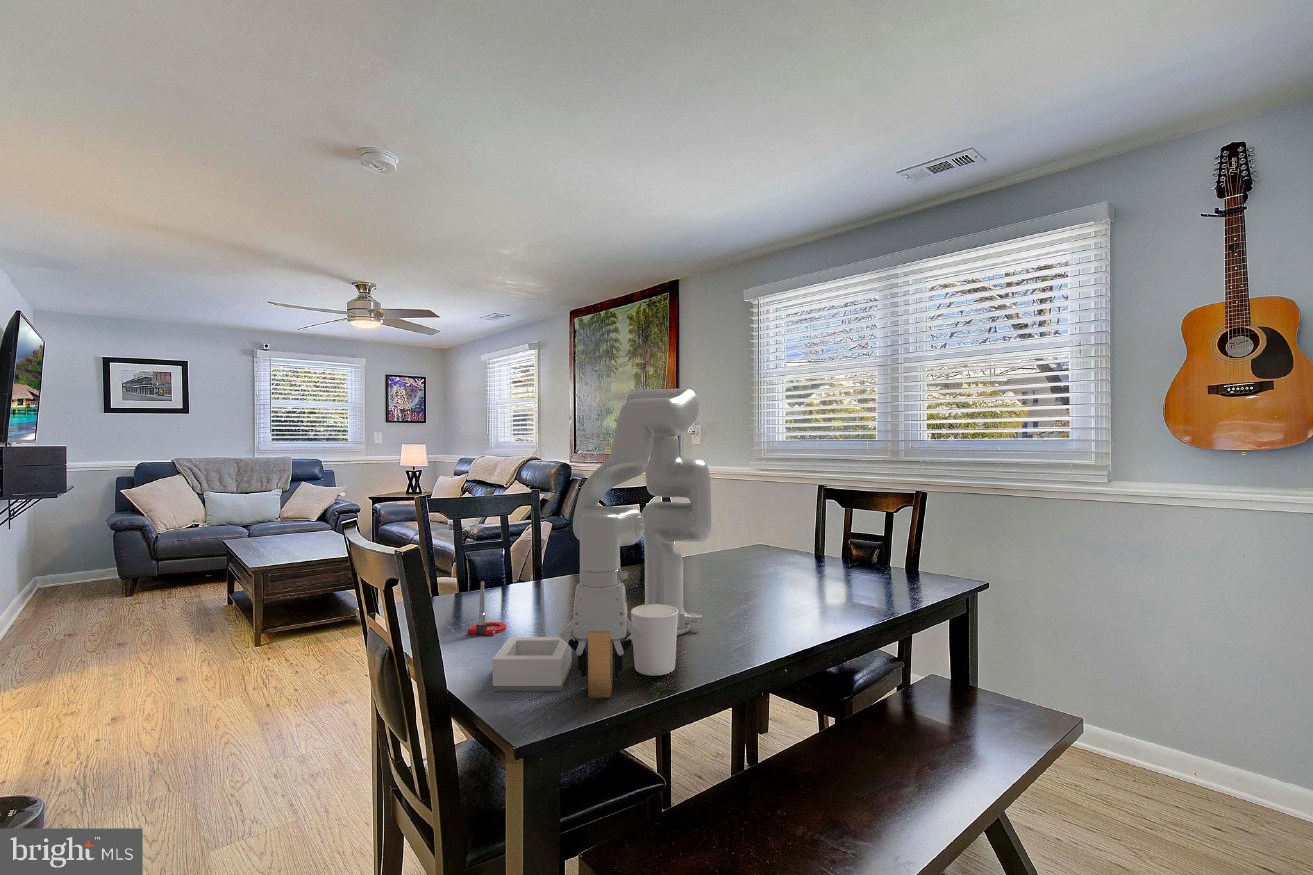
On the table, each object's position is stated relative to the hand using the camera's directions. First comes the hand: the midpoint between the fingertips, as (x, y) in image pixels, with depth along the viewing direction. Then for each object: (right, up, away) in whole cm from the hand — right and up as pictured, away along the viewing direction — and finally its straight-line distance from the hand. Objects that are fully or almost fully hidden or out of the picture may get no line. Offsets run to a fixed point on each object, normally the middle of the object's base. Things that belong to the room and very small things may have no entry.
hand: (600, 673), depth 117 cm
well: (-14, -4, +7) cm, 16 cm away
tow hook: (-32, -4, +38) cm, 50 cm away
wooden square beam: (0, -4, 0) cm, 4 cm away
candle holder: (+10, -4, +12) cm, 16 cm away
